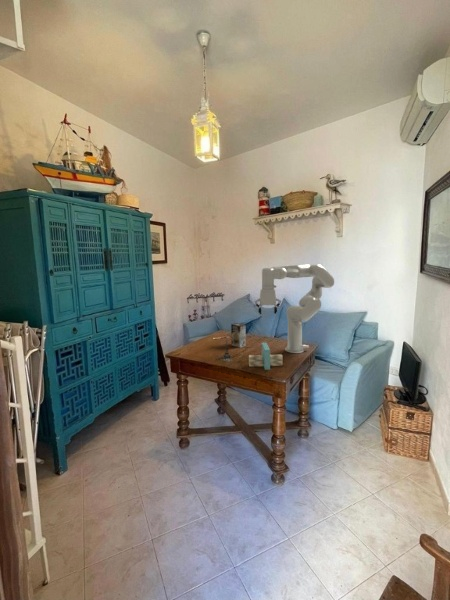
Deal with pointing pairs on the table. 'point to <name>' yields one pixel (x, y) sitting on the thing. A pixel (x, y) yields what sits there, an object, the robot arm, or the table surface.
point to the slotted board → (257, 361)
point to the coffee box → (238, 335)
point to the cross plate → (266, 356)
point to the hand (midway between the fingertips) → (267, 313)
